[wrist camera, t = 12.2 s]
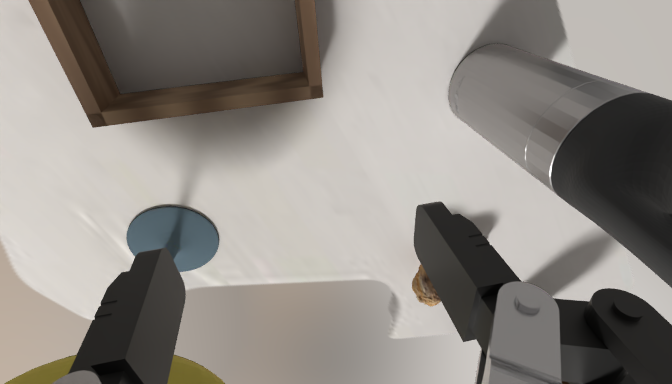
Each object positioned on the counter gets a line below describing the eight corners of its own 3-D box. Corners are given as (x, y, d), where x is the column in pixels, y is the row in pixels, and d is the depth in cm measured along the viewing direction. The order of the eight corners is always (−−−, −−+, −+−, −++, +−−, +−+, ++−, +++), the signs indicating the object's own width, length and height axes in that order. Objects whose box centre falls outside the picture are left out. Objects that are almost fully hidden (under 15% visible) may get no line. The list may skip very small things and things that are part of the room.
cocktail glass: (248, 284, 51) (243, 499, 31) (112, 293, 47) (2, 547, 27) (245, 180, 41) (233, 393, 21) (73, 180, 37) (-147, 444, 17)
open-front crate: (293, -141, 27) (300, -159, 23) (315, 82, 36) (323, 97, 32) (6, -127, 24) (-45, -145, 20) (112, 107, 34) (92, 127, 30)
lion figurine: (398, 271, 56) (420, 317, 48) (398, 247, 53) (421, 293, 45) (483, 250, 57) (517, 293, 50) (487, 226, 54) (524, 268, 47)
